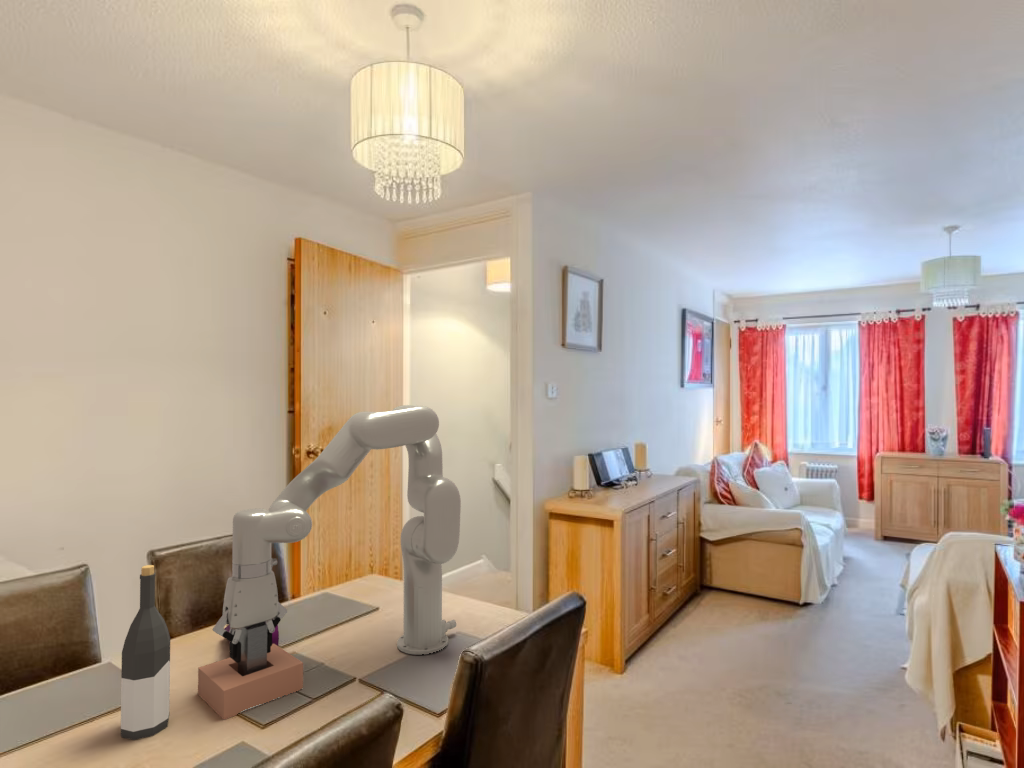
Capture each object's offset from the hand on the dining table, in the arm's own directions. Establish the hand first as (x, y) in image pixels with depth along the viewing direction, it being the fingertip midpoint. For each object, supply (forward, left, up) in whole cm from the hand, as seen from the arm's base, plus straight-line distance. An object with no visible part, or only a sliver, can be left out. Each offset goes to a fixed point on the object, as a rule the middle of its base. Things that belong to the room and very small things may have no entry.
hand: (251, 654), depth 121 cm
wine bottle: (+19, -1, -8) cm, 21 cm away
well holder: (0, 0, -8) cm, 8 cm away
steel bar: (0, 0, -8) cm, 8 cm away
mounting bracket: (-9, -23, -8) cm, 26 cm away
